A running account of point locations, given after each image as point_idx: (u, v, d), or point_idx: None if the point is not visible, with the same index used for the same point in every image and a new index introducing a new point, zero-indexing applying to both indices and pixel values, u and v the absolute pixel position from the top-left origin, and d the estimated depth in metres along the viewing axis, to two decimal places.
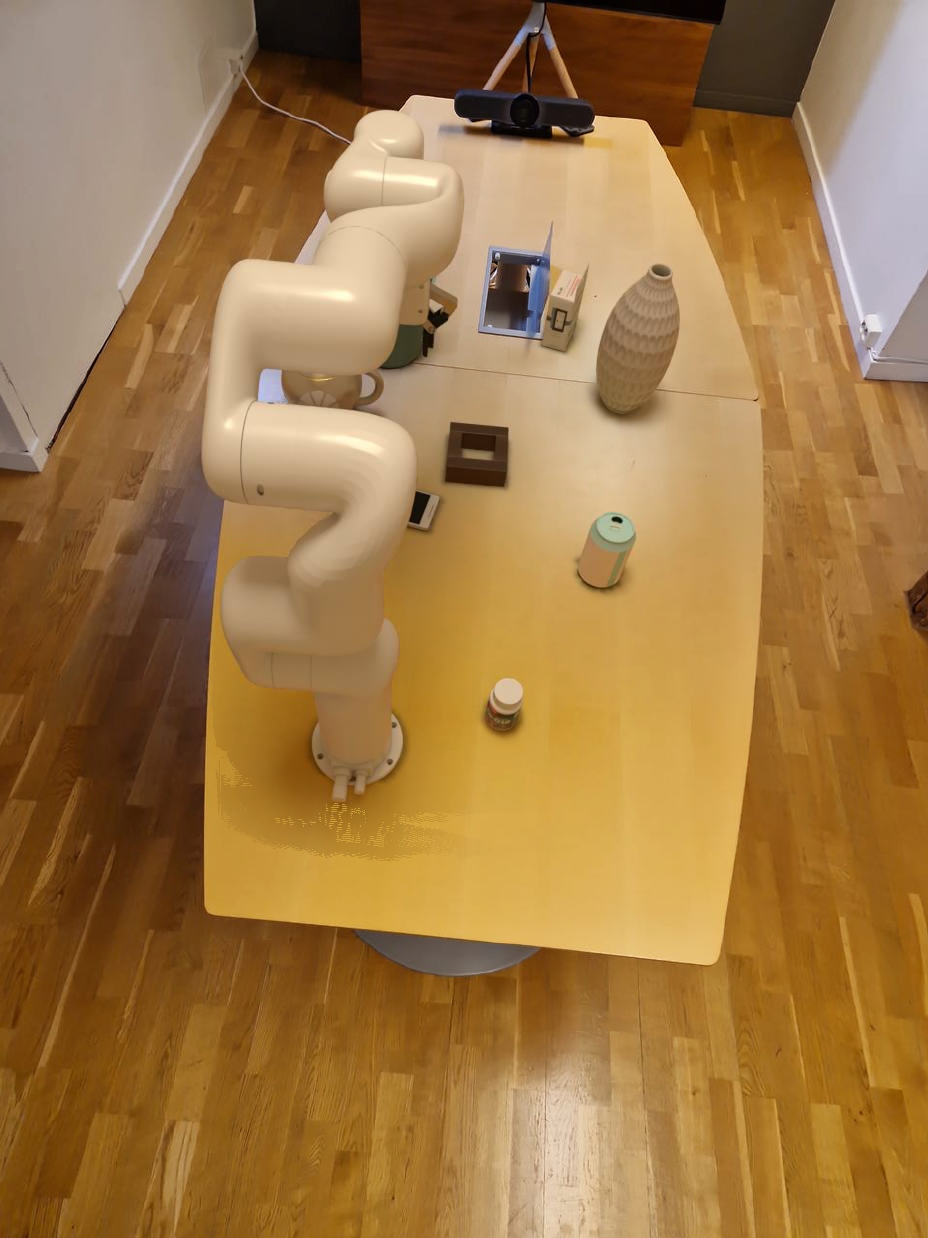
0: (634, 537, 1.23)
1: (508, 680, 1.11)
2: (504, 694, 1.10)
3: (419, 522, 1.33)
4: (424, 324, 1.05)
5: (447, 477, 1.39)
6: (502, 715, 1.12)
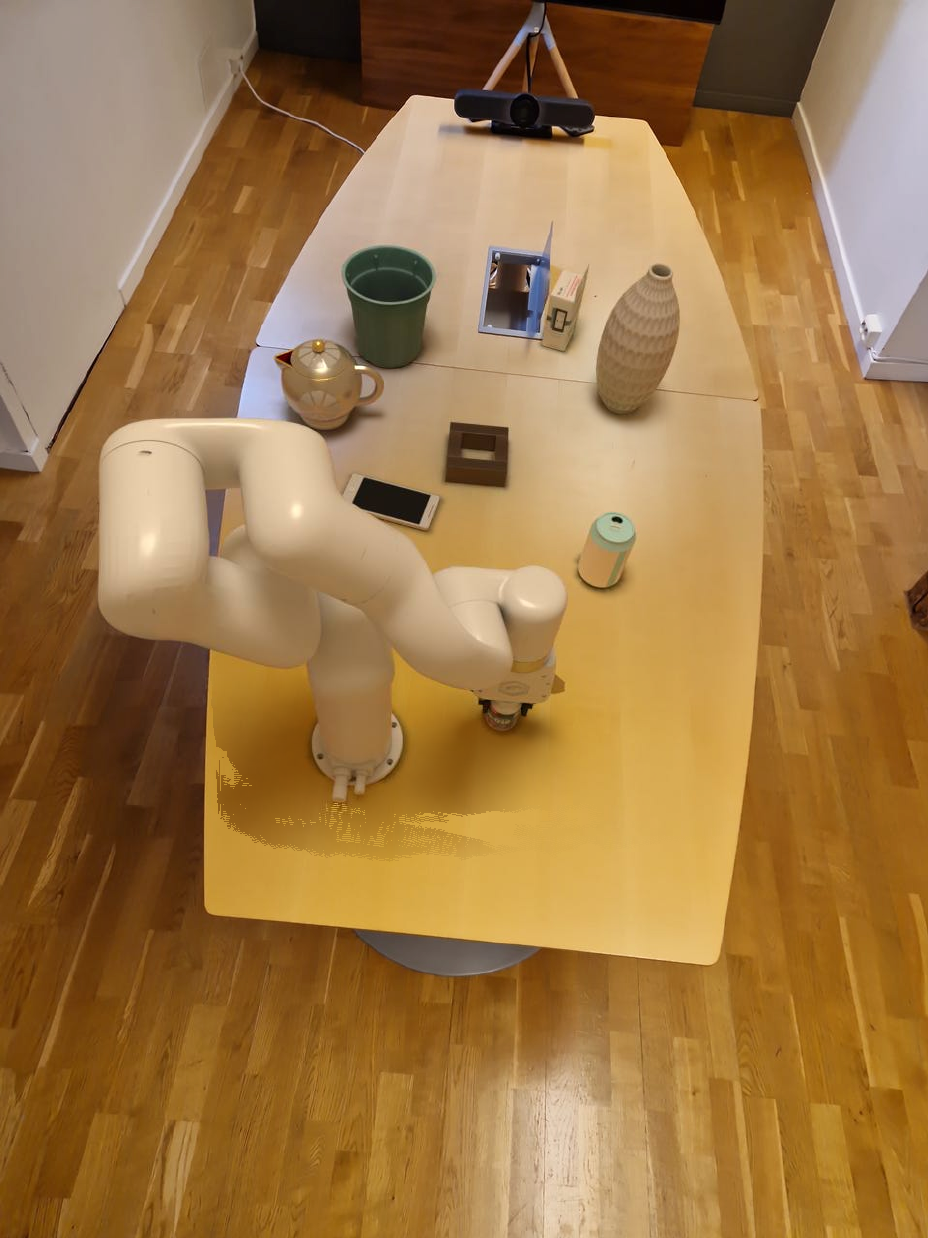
0: (634, 537, 1.23)
1: None
2: None
3: (419, 522, 1.33)
4: None
5: (447, 477, 1.39)
6: (502, 715, 1.12)
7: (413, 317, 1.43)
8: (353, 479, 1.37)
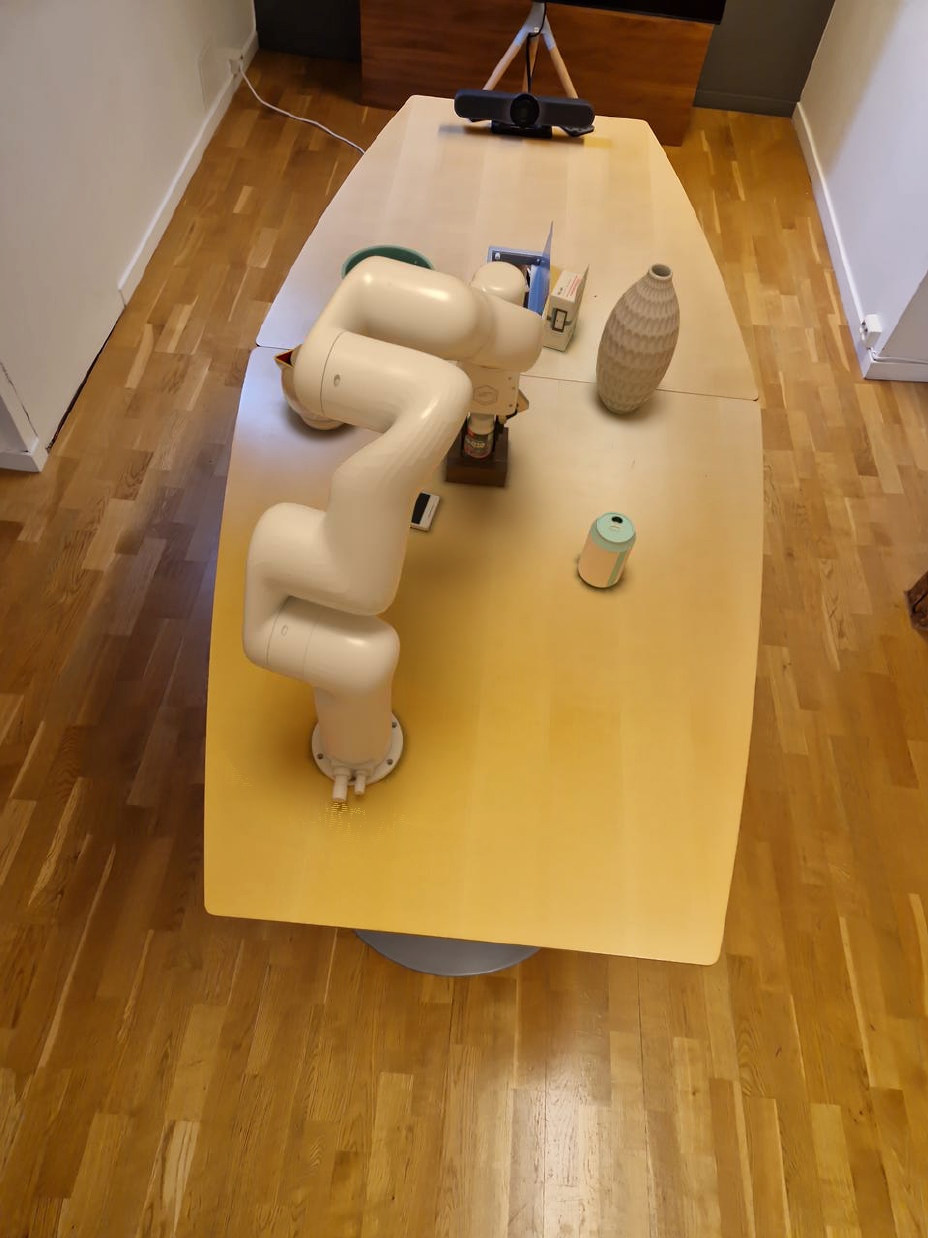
0: (634, 537, 1.23)
1: None
2: (479, 414, 1.32)
3: (419, 522, 1.33)
4: (500, 416, 1.31)
5: (447, 477, 1.39)
6: (477, 435, 1.33)
7: None
8: None
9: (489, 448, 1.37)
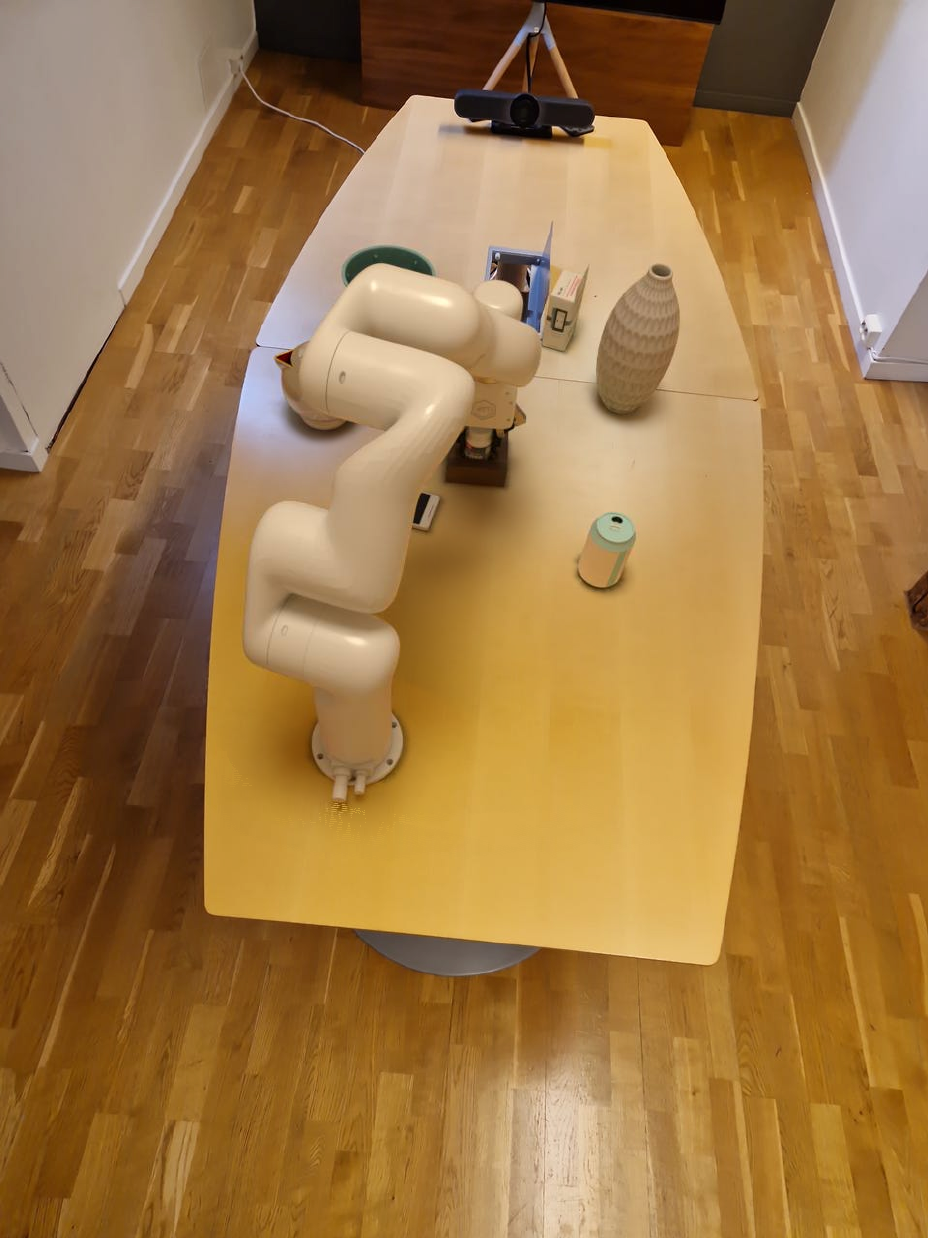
0: (634, 537, 1.23)
1: None
2: (477, 428, 1.34)
3: (419, 522, 1.33)
4: (498, 430, 1.33)
5: (447, 477, 1.39)
6: (475, 448, 1.36)
7: None
8: None
9: None
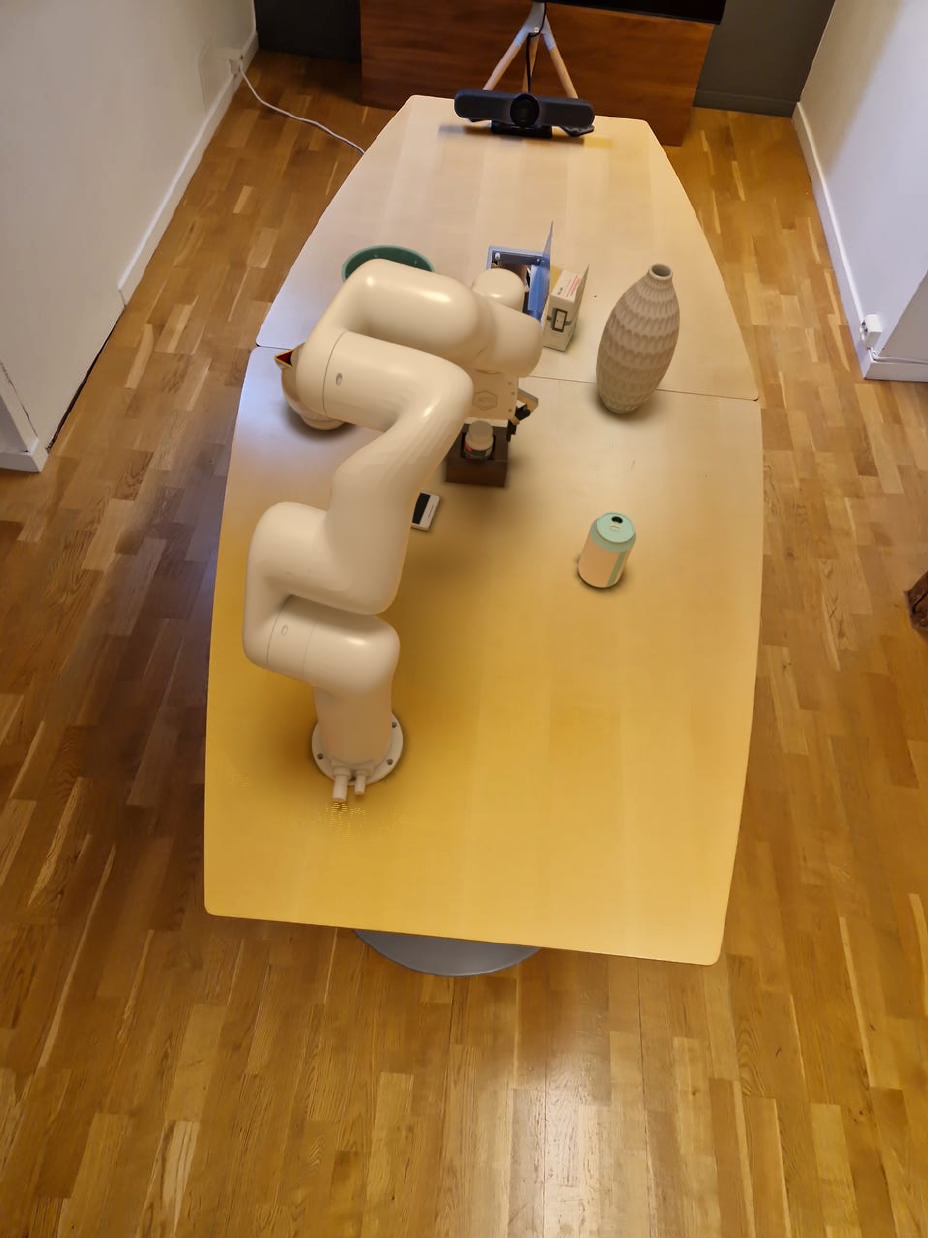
0: (634, 537, 1.23)
1: (481, 421, 1.36)
2: (477, 430, 1.35)
3: (419, 522, 1.33)
4: (510, 418, 1.31)
5: (447, 477, 1.39)
6: (475, 451, 1.36)
7: None
8: None
9: None
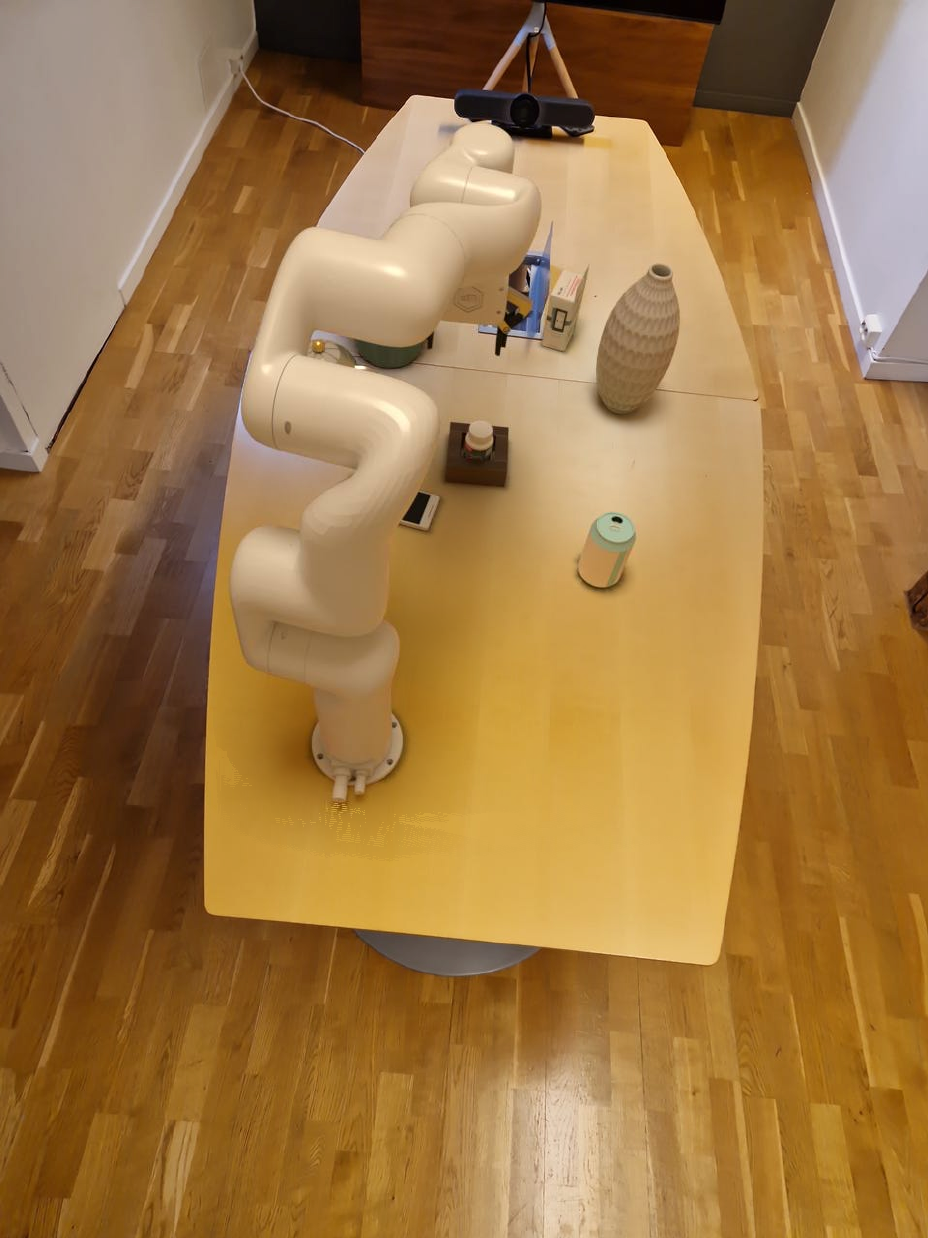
0: (634, 537, 1.23)
1: (481, 421, 1.36)
2: (477, 430, 1.35)
3: (419, 522, 1.33)
4: (500, 324, 1.11)
5: (447, 477, 1.39)
6: (475, 451, 1.36)
7: None
8: None
9: None
